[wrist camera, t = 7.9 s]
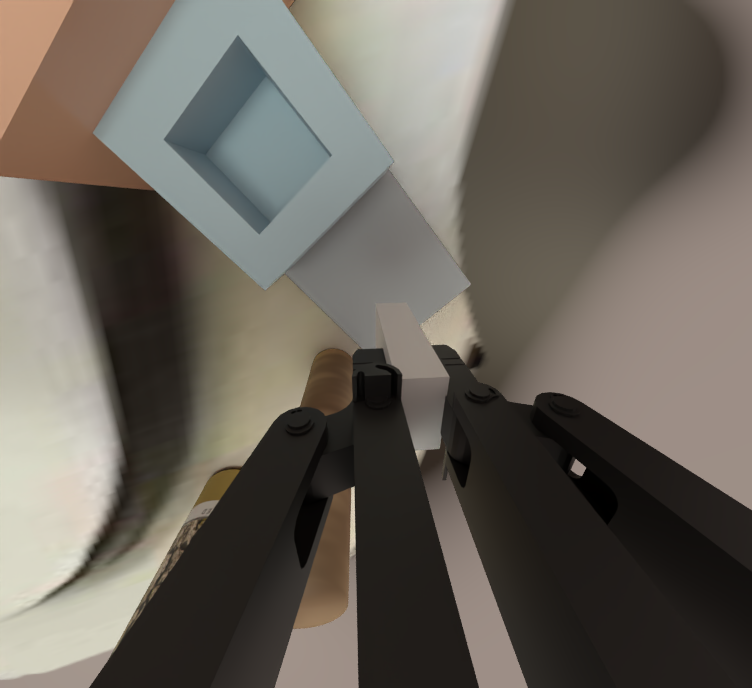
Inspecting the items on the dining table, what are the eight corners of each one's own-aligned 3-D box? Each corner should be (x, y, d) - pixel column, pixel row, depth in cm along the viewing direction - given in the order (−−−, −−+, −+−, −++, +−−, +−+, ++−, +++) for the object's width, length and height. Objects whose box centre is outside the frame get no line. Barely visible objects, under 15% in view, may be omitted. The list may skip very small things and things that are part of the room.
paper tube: (207, 462, 31) (-172, 1099, 9) (269, 469, 32) (67, 1057, 10) (209, 501, 34) (-75, 1059, 12) (266, 506, 35) (104, 1028, 13)
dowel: (304, 366, 27) (220, 608, 10) (333, 340, 26) (291, 565, 9) (333, 391, 28) (299, 637, 12) (362, 367, 27) (369, 602, 11)
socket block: (171, 155, 18) (92, 133, 13) (270, 19, 16) (225, -81, 10) (288, 270, 22) (265, 290, 16) (384, 174, 19) (394, 161, 14)
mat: (146, 136, 18) (141, 134, 18) (252, -19, 16) (250, -25, 15) (374, 358, 27) (374, 360, 26) (469, 283, 24) (471, 284, 24)
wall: (126, 165, 19) (-83, 125, 10) (282, -63, 15) (168, -469, 6) (153, 190, 20) (-18, 174, 11) (309, -20, 16) (245, -326, 7)
